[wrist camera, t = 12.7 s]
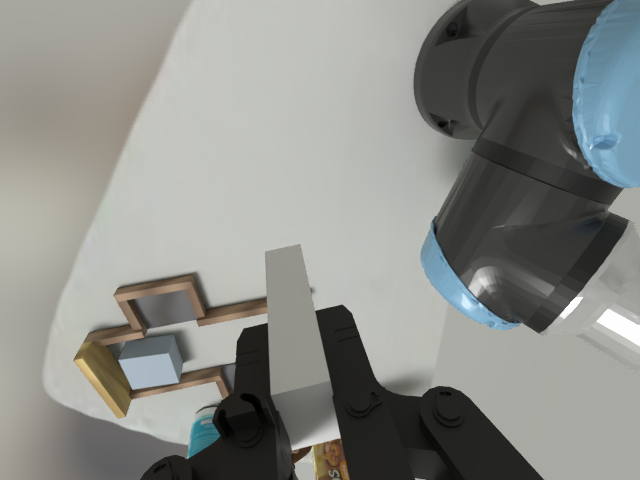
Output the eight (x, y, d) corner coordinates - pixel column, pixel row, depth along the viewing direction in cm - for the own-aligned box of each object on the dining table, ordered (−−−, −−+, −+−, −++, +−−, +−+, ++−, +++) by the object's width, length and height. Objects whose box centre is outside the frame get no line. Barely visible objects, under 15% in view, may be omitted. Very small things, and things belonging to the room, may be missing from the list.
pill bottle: (186, 413, 62) (171, 495, 51) (222, 400, 62) (215, 479, 51) (204, 431, 66) (194, 512, 55) (238, 419, 66) (236, 497, 55)
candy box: (310, 449, 77) (322, 530, 64) (311, 439, 75) (324, 521, 62) (346, 443, 79) (365, 521, 66) (348, 434, 77) (368, 512, 64)
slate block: (174, 333, 52) (168, 353, 48) (183, 362, 55) (179, 382, 52) (127, 339, 51) (118, 360, 47) (140, 368, 54) (132, 389, 51)
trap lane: (300, 255, 48) (305, 275, 44) (319, 374, 63) (323, 397, 59) (64, 298, 45) (45, 324, 41) (143, 413, 60) (135, 440, 56)
